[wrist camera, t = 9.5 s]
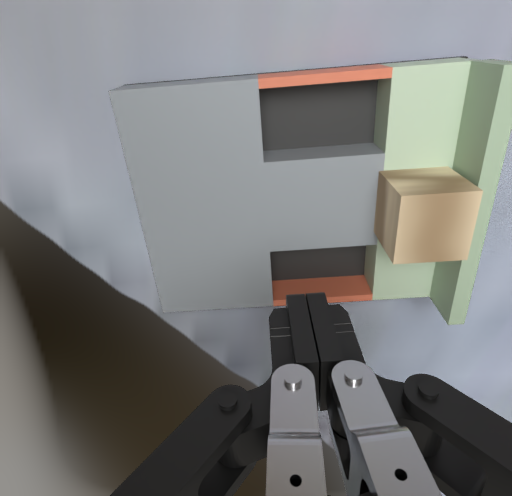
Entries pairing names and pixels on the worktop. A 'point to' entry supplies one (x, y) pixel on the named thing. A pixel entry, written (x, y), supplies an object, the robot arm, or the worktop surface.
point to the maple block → (425, 214)
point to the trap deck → (305, 177)
